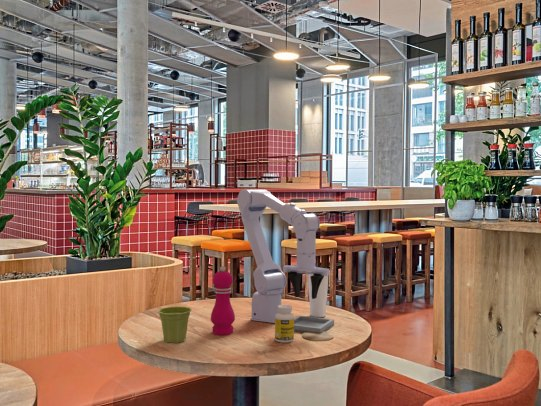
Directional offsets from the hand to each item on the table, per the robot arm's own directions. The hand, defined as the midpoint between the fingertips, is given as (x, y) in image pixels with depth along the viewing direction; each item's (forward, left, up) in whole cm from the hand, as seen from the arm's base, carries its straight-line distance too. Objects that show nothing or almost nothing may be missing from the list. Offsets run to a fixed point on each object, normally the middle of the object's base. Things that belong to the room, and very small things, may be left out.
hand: (305, 297), depth 162 cm
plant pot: (-29, -28, -10) cm, 41 cm away
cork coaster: (+6, -6, -10) cm, 13 cm away
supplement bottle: (-1, -14, -10) cm, 17 cm away
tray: (0, +2, -10) cm, 10 cm away
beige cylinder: (-3, +17, -10) cm, 20 cm away
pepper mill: (-21, -15, -10) cm, 27 cm away
